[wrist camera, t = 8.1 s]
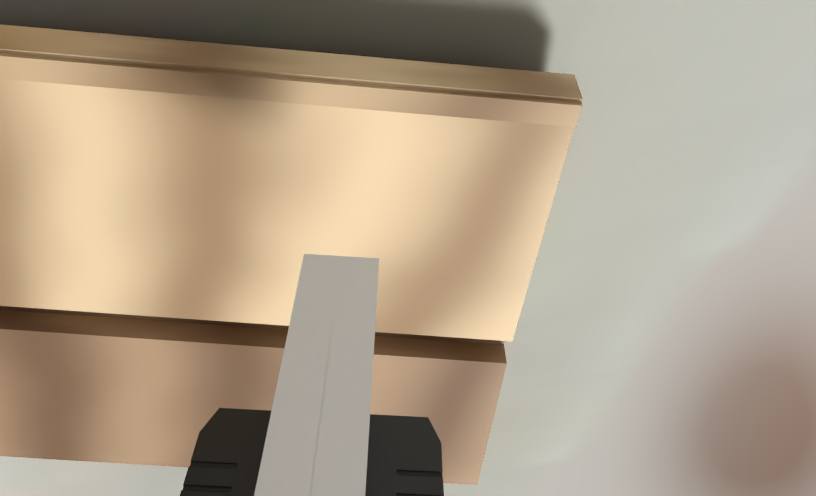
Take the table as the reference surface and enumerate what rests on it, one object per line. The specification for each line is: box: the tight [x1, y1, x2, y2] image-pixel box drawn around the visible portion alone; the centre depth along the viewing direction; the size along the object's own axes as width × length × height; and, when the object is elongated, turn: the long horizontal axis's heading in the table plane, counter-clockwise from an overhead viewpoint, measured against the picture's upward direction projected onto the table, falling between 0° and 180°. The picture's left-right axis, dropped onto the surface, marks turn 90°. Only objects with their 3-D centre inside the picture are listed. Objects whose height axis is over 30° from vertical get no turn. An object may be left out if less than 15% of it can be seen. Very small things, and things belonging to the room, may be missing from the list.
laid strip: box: [0, 306, 507, 485], centre depth 25 cm, size 20×8×1 cm, turn 85°
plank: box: [0, 24, 582, 341], centre depth 19 cm, size 20×9×1 cm, turn 85°
